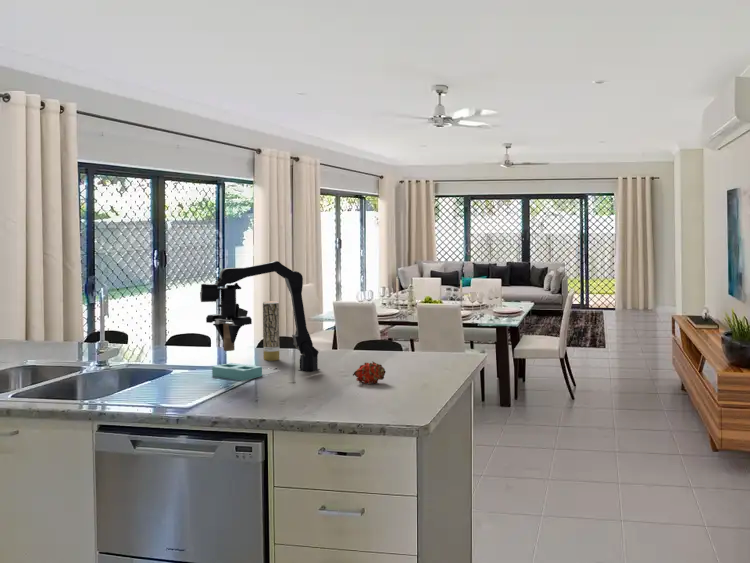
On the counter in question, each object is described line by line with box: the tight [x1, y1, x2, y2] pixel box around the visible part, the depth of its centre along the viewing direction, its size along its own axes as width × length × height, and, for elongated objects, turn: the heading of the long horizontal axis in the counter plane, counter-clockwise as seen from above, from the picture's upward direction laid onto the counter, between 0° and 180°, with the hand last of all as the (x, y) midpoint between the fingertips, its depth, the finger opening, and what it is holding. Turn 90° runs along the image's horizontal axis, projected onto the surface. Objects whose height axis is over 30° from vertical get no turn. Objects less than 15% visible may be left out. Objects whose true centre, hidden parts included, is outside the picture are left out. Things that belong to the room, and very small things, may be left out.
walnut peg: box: [223, 322, 235, 352], centre depth 284 cm, size 4×4×10 cm
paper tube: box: [262, 300, 280, 362], centre depth 321 cm, size 7×7×25 cm
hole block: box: [211, 362, 263, 381], centre depth 283 cm, size 16×10×4 cm, turn 57°
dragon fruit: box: [352, 361, 387, 385], centre depth 270 cm, size 8×8×12 cm
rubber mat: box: [262, 367, 282, 376], centre depth 292 cm, size 10×10×1 cm
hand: (229, 342), depth 284 cm, fingers closed on walnut peg, 4 cm apart
